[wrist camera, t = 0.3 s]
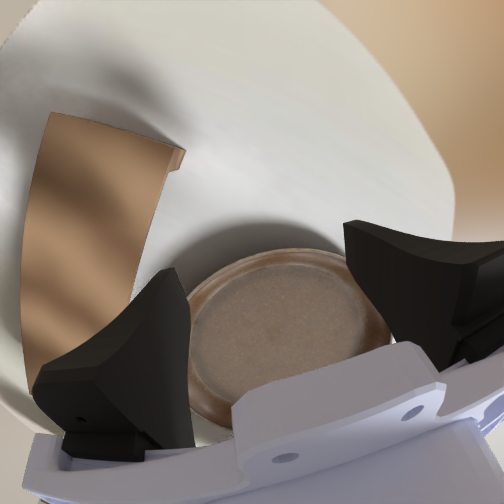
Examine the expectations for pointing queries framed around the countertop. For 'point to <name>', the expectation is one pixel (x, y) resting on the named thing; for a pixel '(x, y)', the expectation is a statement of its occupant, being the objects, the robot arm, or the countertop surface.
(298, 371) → the plant saucer
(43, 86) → the countertop surface
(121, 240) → the walnut shelf
